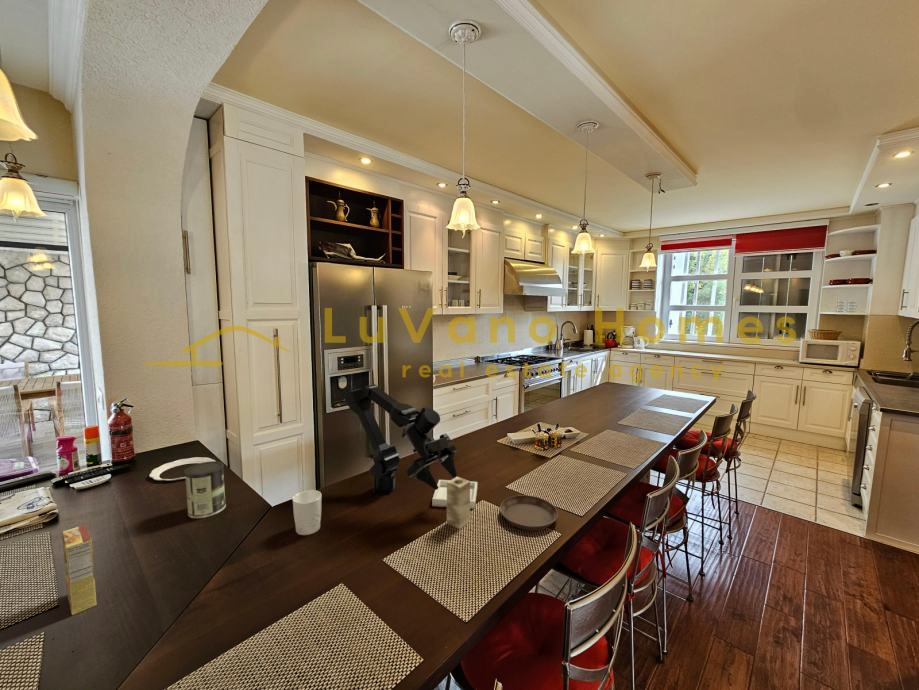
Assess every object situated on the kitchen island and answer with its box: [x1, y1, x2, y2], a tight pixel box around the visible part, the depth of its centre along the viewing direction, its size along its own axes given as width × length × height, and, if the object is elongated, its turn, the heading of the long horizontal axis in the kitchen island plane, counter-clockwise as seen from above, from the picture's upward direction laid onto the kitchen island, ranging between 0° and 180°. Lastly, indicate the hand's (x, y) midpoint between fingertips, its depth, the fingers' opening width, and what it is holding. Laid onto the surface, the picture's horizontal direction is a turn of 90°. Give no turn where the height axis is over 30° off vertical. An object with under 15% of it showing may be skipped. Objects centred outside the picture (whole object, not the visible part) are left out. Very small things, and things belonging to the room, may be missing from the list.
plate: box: [148, 456, 216, 482], centre depth 151 cm, size 21×21×2 cm
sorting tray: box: [431, 479, 478, 510], centre depth 133 cm, size 14×14×2 cm
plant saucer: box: [499, 494, 559, 532], centre depth 121 cm, size 18×18×3 cm
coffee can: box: [184, 460, 227, 519], centre depth 123 cm, size 10×10×14 cm
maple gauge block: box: [446, 476, 471, 530], centre depth 117 cm, size 5×5×13 cm
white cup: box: [292, 489, 322, 536], centre depth 113 cm, size 8×8×10 cm
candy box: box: [61, 524, 97, 616], centre depth 85 cm, size 9×4×15 cm, turn 50°
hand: (447, 483), depth 119 cm, fingers open, 9 cm apart
